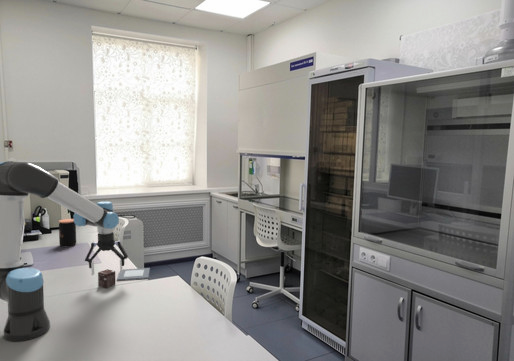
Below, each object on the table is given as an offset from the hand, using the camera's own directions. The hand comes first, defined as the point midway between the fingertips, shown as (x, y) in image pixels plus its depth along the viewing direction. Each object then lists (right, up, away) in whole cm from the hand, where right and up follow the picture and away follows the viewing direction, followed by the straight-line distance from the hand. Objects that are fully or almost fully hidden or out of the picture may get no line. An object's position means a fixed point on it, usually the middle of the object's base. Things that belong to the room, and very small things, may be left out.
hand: (107, 273), depth 190 cm
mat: (+8, -5, +17) cm, 19 cm away
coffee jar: (-58, +1, +76) cm, 95 cm away
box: (0, -7, 0) cm, 7 cm away
